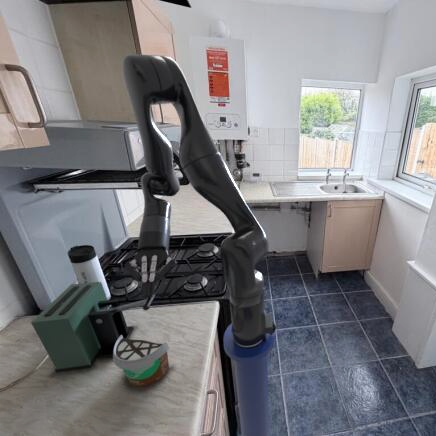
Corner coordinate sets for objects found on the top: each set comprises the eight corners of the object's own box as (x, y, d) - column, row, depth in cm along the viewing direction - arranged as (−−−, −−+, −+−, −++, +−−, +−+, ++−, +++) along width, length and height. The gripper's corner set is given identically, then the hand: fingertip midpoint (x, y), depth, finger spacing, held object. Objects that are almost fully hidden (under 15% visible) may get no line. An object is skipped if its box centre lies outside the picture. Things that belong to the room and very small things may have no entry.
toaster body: (117, 324, 70) (102, 280, 63) (90, 368, 57) (67, 318, 51) (89, 327, 68) (70, 282, 62) (55, 372, 56) (28, 322, 50)
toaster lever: (157, 297, 64) (153, 290, 63) (150, 310, 59) (146, 303, 58) (107, 309, 62) (102, 303, 61) (96, 324, 58) (91, 317, 57)
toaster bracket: (134, 328, 68) (122, 293, 64) (118, 356, 60) (104, 319, 55) (115, 330, 68) (102, 295, 63) (97, 359, 59) (80, 322, 55)
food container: (108, 388, 53) (95, 358, 49) (129, 363, 59) (119, 334, 55) (158, 397, 52) (148, 367, 48) (175, 370, 57) (167, 341, 53)
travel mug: (102, 291, 82) (84, 242, 75) (115, 296, 80) (98, 245, 73) (82, 303, 77) (60, 251, 69) (96, 308, 75) (75, 255, 67)
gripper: (122, 231, 62) (111, 299, 56) (175, 228, 64) (170, 293, 58) (135, 239, 69) (126, 301, 62) (183, 236, 71) (179, 296, 65)
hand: (148, 297), depth 60 cm, fingers closed
